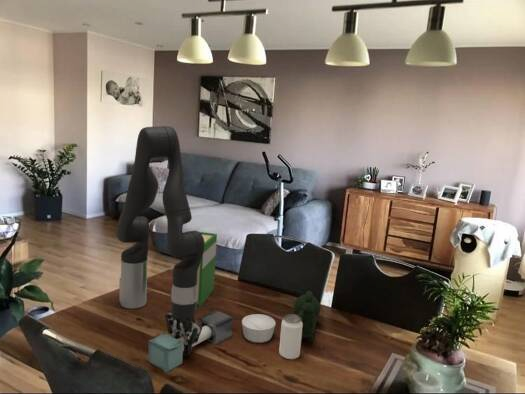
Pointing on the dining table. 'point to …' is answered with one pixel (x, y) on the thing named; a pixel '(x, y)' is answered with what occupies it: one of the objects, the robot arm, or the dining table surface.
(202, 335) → the tube
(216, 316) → the sleeve
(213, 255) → the hardback book
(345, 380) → the dining table surface
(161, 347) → the socket
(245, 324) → the ramekin
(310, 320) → the dark green lumpy piece
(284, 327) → the can
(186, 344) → the robot arm
